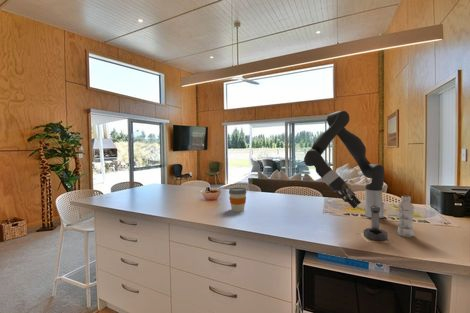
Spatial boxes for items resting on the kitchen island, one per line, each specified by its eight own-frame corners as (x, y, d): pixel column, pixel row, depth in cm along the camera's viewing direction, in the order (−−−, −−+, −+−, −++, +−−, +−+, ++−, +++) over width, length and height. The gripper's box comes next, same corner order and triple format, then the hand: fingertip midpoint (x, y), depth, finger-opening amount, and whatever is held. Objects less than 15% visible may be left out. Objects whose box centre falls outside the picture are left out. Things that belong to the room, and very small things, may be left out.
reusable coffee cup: (249, 209, 177) (249, 188, 177) (240, 213, 167) (240, 191, 166) (235, 207, 184) (234, 187, 184) (225, 210, 173) (225, 189, 173)
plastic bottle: (394, 235, 122) (394, 195, 121) (406, 234, 123) (407, 195, 122) (404, 240, 116) (404, 198, 115) (417, 239, 116) (417, 197, 116)
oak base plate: (381, 235, 122) (381, 233, 122) (395, 244, 110) (395, 242, 110) (356, 235, 123) (356, 233, 123) (368, 244, 111) (368, 242, 111)
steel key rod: (377, 236, 118) (377, 206, 117) (381, 239, 114) (381, 208, 113) (368, 235, 118) (368, 206, 118) (372, 239, 114) (373, 208, 114)
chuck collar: (380, 234, 120) (380, 228, 120) (390, 241, 111) (390, 234, 111) (361, 234, 121) (361, 228, 121) (370, 241, 112) (370, 234, 112)
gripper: (335, 177, 120) (361, 203, 113) (342, 174, 131) (366, 198, 124) (324, 187, 123) (348, 213, 116) (332, 183, 134) (354, 207, 128)
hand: (357, 205), depth 120 cm, fingers open, 8 cm apart
